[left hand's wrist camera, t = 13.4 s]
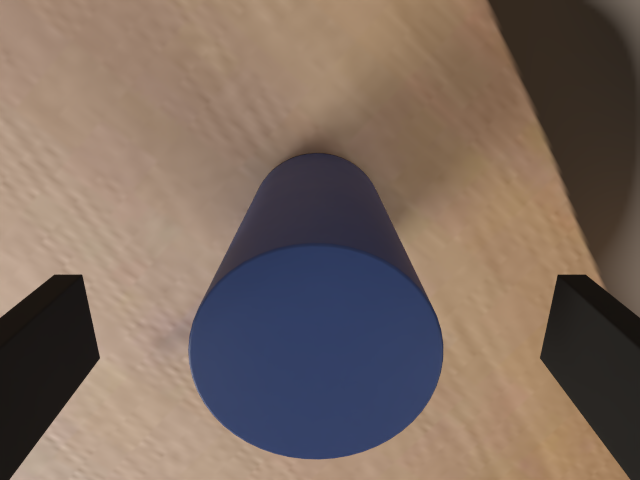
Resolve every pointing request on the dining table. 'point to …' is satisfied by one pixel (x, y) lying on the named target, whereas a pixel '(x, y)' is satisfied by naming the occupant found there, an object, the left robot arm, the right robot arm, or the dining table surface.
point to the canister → (316, 319)
